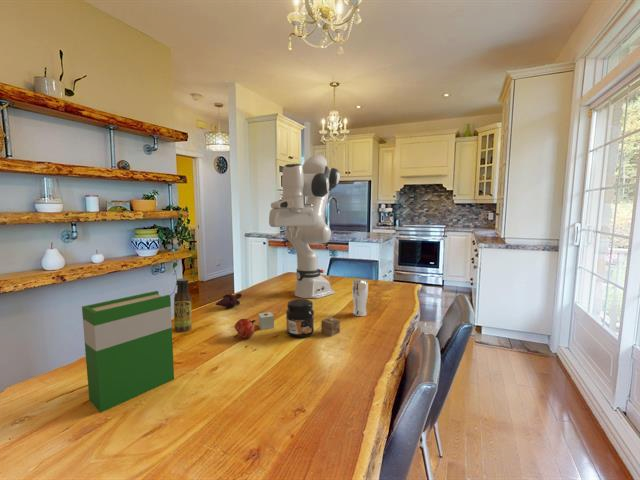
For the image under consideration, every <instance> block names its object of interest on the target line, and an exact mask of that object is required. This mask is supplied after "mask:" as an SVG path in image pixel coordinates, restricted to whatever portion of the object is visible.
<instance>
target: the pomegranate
mask: <svg viewBox="0 0 640 480" xmlns="http://www.w3.org/2000/svg"><path fill="white" fill-rule="evenodd" d="M255 322H257V320H256V319H253V320H250V319H249V318H240V319H239V320H237V321H236V323H235V324H234V329H235V330H236V332H237V334H236V335H233V338H236V337H238V336H240V337H241V338H242V339H244V340H246V339H249V338H251V337H252V336H253V335H254V333H255V330H256V329H255V328H256V326H255V324H254V323H255Z"/></svg>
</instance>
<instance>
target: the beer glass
mask: <svg viewBox="0 0 640 480" xmlns="http://www.w3.org/2000/svg"><path fill="white" fill-rule="evenodd" d="M351 291H352V292H351V293H352V294H351V295H352V300H353V311H352V315H353V316H355V317H361V318H362V317H366V316H367V315H368V314H367V302H368V297H369V296H368V295H369V282H368V281H367V280H365V279H355V280H353V281H352V289H351Z"/></svg>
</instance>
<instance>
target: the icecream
mask: <svg viewBox="0 0 640 480" xmlns="http://www.w3.org/2000/svg"><path fill="white" fill-rule="evenodd" d="M241 298H242V293H237V294H235V295H234V294H231V293H230V294H228V293H227V294H224V295H223V296H222V298H221V299H220V300H218V301H217V302H216V303H214V304H215V306H219V307H224V308H225V309H227V310H231V309H232V308H235V306H238V305H240V303H241V302H240V301H239V299H241Z"/></svg>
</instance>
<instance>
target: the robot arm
mask: <svg viewBox="0 0 640 480" xmlns="http://www.w3.org/2000/svg"><path fill="white" fill-rule="evenodd" d="M282 168H283V169H282V176H281V177H282V179H281V187H282V194H281V199H279V200H276V201H273V202H271V204H270V207H271V209H270V210H269V217H268V224H269V226H270V227H272V228H285V230H284V235H285V238H286V240H287V241H288V242H290V243H291V245H292V246H293V248H294V251H295V253H296V262H297V263H296V265H297V266H296V267H297V268H296V286H295V289H294V291H295V292H294V294H293V295H294V296H295V297H297V298H300V299H321V298H324V297H327V296H330V295H335V292H336V291H335V290H334V289H332V288H331V283H330V281H329V280H327V279H326V278H325V277H324V276H322V275H321V274H324V273H325V270H324V269H323V268H322V269H321V268H320V269H319V262H318V261H319V256H318V253H317V252H316V251H315V250H313V249H312V248H311V247H310V244H311V245H323V244H327V243H329V241H330V240H331V237H332V231H331V228H330V227H329V225H327V223H326V222H325V219H324V216H325V215H324V214H325V210H326V206H327V201H328V194H329V192H330V191H332V190H333V189H335V188H336V187H337V186H338V184H339V182H340V179H341V176H340V171H339V169H338V168H335V167H329V166H328V161H327V159H326V157H325V156H324V155H321V154H316V155H314V154H313V155H312V156H310V157H309V158H308V159H306V161H305V162H304V163H303V165H302V164H300V163H288V164H285V165H283V167H282ZM305 197H306V201H305V200H304V199H305Z"/></svg>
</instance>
